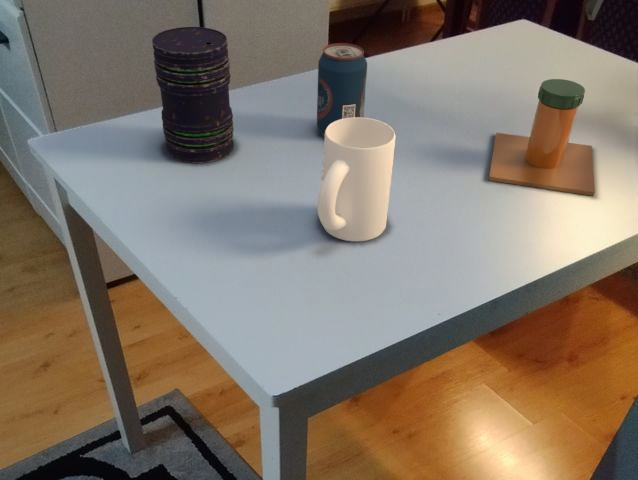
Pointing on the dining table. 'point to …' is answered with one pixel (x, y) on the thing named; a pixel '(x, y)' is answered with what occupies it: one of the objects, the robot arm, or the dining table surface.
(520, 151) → the mat
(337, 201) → the mug
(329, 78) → the soda can
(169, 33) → the dark ridged cylinder
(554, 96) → the jar lid
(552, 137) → the jar
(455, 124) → the dining table surface
